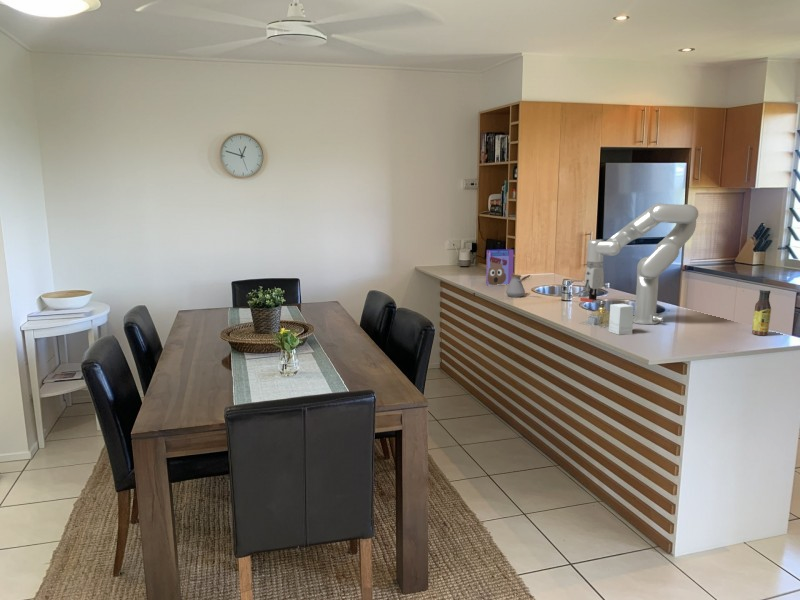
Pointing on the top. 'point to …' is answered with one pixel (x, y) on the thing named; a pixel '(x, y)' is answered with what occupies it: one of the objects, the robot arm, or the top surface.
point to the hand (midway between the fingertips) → (592, 302)
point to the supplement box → (621, 319)
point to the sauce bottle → (762, 314)
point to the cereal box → (499, 266)
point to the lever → (593, 301)
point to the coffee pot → (516, 286)
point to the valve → (598, 318)
